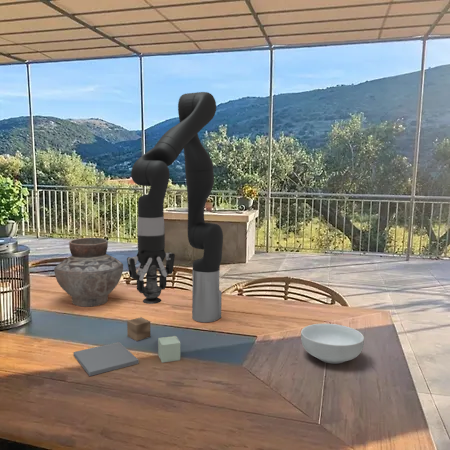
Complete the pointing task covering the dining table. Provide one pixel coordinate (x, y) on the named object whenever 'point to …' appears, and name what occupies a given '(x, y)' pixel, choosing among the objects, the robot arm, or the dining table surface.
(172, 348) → the sage block
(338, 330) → the cereal bowl
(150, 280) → the salt shaker
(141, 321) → the walnut block
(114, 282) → the ceramic pot
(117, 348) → the serving board
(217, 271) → the robot arm
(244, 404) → the dining table surface
